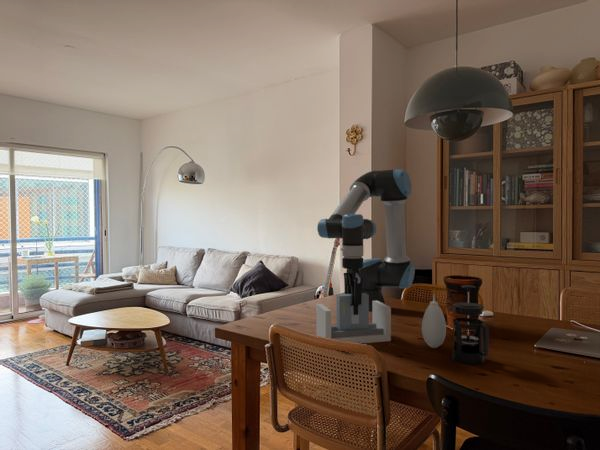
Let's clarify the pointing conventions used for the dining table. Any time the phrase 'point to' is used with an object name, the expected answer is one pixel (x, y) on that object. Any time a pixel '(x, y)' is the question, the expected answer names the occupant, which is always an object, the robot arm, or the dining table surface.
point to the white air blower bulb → (434, 325)
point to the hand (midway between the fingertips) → (352, 321)
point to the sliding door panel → (345, 312)
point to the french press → (468, 351)
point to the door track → (376, 317)
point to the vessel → (460, 296)
